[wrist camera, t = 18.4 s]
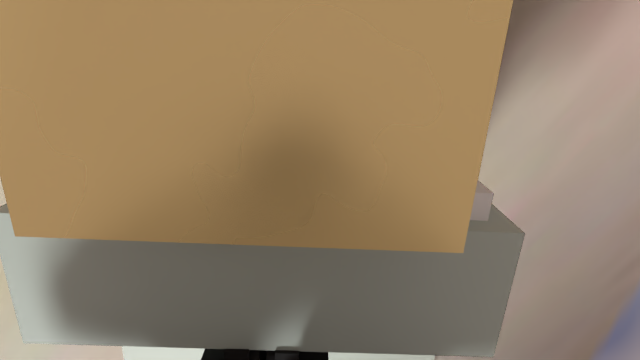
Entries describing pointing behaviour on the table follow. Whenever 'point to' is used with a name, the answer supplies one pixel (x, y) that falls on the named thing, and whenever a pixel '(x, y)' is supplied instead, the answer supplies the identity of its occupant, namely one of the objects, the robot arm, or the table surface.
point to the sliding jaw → (266, 293)
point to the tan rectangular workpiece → (248, 119)
